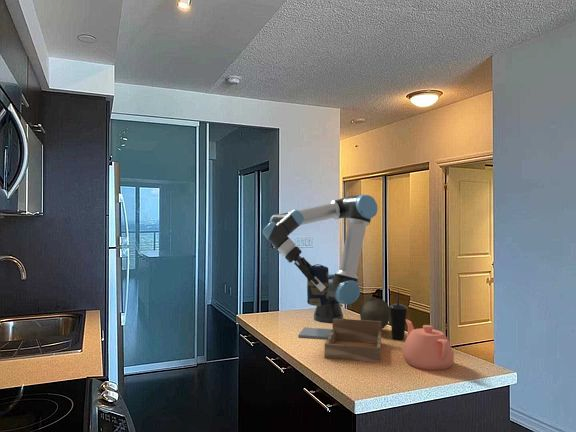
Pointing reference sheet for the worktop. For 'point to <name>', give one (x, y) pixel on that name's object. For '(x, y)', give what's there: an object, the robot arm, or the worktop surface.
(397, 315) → the drinking cup
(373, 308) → the kiwi fruit
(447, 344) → the teapot
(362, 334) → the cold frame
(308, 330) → the slate tile
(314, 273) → the canister
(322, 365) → the worktop surface
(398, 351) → the worktop surface
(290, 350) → the worktop surface
